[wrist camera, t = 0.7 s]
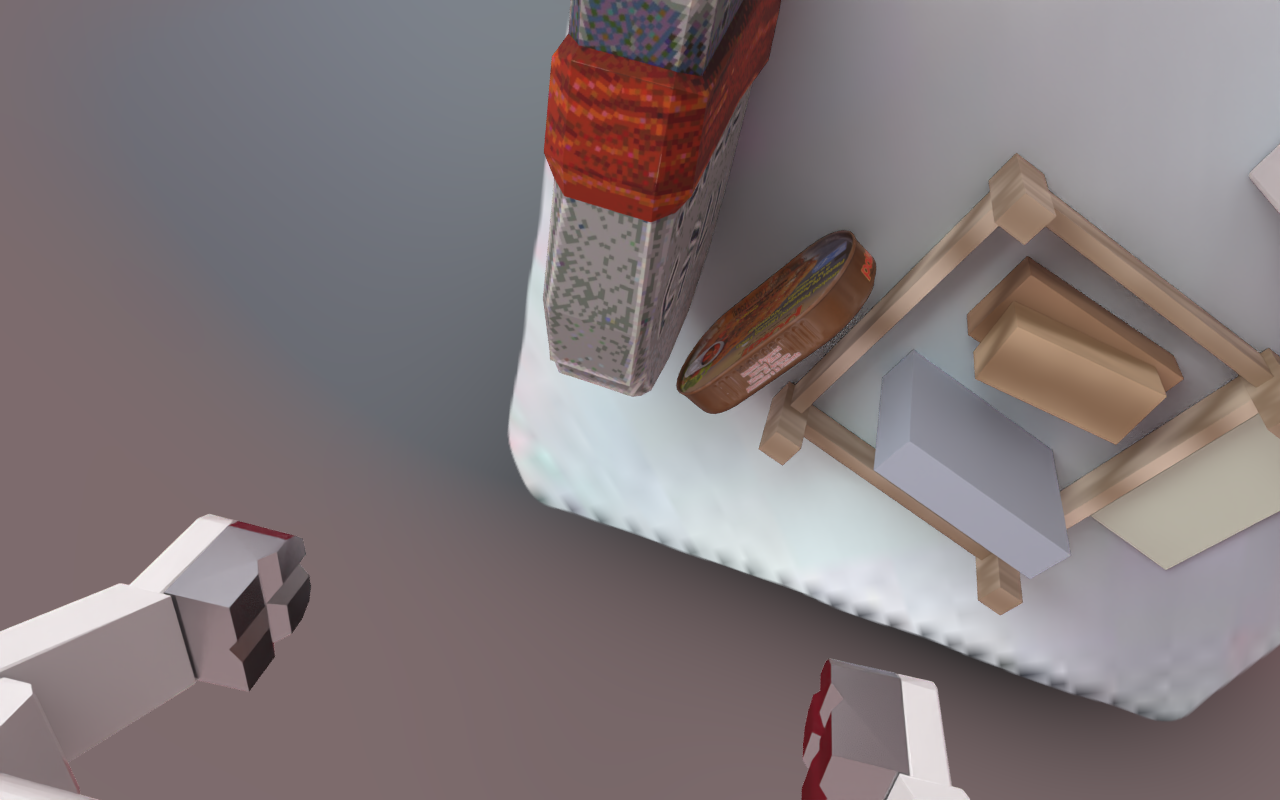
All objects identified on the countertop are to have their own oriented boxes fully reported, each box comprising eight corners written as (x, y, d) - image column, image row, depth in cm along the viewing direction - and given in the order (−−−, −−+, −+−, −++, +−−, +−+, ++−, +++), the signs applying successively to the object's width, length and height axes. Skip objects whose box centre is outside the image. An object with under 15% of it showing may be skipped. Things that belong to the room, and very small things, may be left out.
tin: (856, 208, 49) (843, 269, 42) (889, 245, 50) (882, 310, 43) (689, 340, 58) (657, 407, 51) (719, 369, 59) (692, 439, 52)
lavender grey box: (913, 349, 53) (909, 440, 45) (1052, 449, 55) (1071, 555, 47) (882, 377, 55) (873, 469, 47) (1017, 473, 56) (1029, 579, 49)
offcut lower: (1026, 252, 48) (1030, 275, 46) (1172, 351, 49) (1183, 378, 46) (966, 310, 51) (968, 334, 49) (1104, 403, 52) (1112, 430, 50)
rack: (1016, 152, 44) (1025, 192, 40) (1293, 367, 47) (1333, 428, 42) (772, 398, 59) (758, 448, 54) (995, 554, 61) (1000, 615, 56)
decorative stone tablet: (554, -276, 23) (515, 437, 44) (774, -227, 22) (627, 475, 43) (715, -290, 37) (627, 256, 57) (853, -260, 36) (713, 283, 57)
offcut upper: (1013, 300, 47) (1017, 326, 44) (1155, 366, 47) (1166, 396, 44) (973, 351, 49) (975, 378, 47) (1107, 414, 49) (1116, 444, 47)
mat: (1379, 332, 44) (1384, 337, 44) (1469, 403, 45) (1475, 409, 45) (1089, 510, 56) (1090, 515, 56) (1164, 563, 57) (1165, 570, 57)
